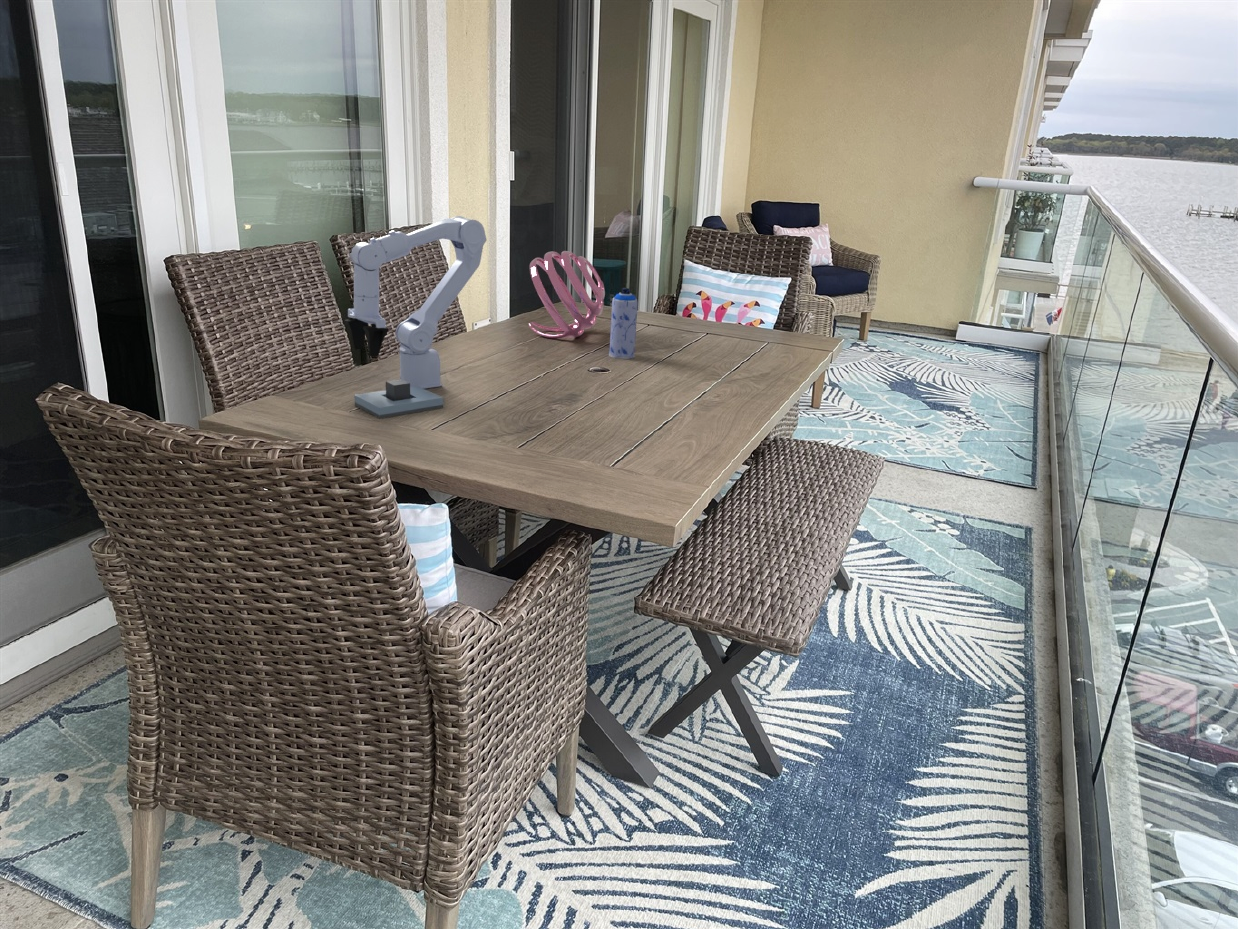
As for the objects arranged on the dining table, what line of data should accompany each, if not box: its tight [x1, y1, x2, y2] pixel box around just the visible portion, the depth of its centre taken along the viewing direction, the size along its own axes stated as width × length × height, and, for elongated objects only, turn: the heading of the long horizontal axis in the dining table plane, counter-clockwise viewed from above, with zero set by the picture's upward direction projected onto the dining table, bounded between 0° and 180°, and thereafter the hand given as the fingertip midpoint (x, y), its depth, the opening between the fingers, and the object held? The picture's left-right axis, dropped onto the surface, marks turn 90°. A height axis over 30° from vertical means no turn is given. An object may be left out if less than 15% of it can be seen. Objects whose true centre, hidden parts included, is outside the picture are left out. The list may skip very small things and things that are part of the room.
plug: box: [385, 378, 410, 401], centre depth 205 cm, size 4×4×5 cm
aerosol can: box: [608, 287, 639, 360], centre depth 264 cm, size 8×8×20 cm
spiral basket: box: [528, 250, 606, 340], centre depth 286 cm, size 28×28×27 cm
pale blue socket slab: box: [354, 386, 444, 419], centre depth 206 cm, size 16×12×2 cm
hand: (366, 352), depth 214 cm, fingers open, 7 cm apart
